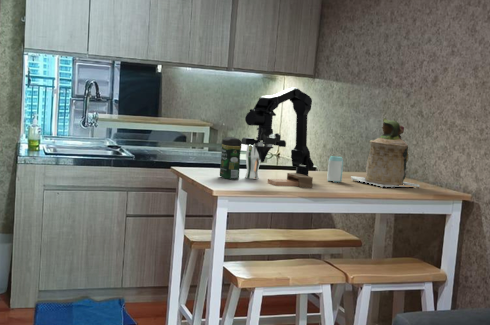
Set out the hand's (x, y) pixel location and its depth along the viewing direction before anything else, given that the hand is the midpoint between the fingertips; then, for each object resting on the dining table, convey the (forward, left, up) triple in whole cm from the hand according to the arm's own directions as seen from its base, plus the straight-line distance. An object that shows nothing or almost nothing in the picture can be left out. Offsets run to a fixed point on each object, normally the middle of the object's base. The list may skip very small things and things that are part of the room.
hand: (262, 162), depth 288 cm
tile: (-1, +13, -10) cm, 17 cm away
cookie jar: (-10, +70, -10) cm, 71 cm away
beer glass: (-19, +4, -10) cm, 21 cm away
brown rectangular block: (0, +19, -10) cm, 21 cm away
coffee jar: (-17, -8, -10) cm, 21 cm away
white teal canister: (-15, +45, -10) cm, 48 cm away
